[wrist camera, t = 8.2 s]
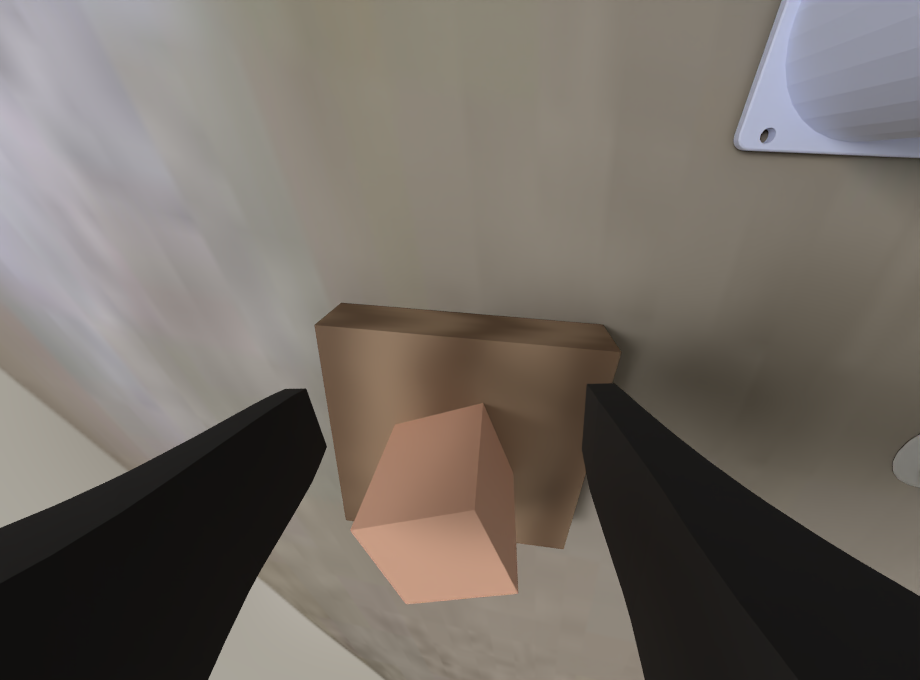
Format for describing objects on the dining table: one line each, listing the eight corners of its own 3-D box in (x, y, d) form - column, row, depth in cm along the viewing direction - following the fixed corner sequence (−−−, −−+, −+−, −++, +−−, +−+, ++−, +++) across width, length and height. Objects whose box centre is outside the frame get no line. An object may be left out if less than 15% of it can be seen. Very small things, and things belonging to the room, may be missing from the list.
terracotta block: (483, 402, 17) (474, 509, 12) (513, 473, 19) (518, 593, 13) (394, 424, 18) (350, 530, 13) (431, 488, 20) (406, 604, 15)
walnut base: (603, 324, 18) (621, 352, 15) (556, 506, 24) (563, 549, 21) (341, 302, 19) (314, 325, 16) (362, 482, 25) (346, 520, 22)
